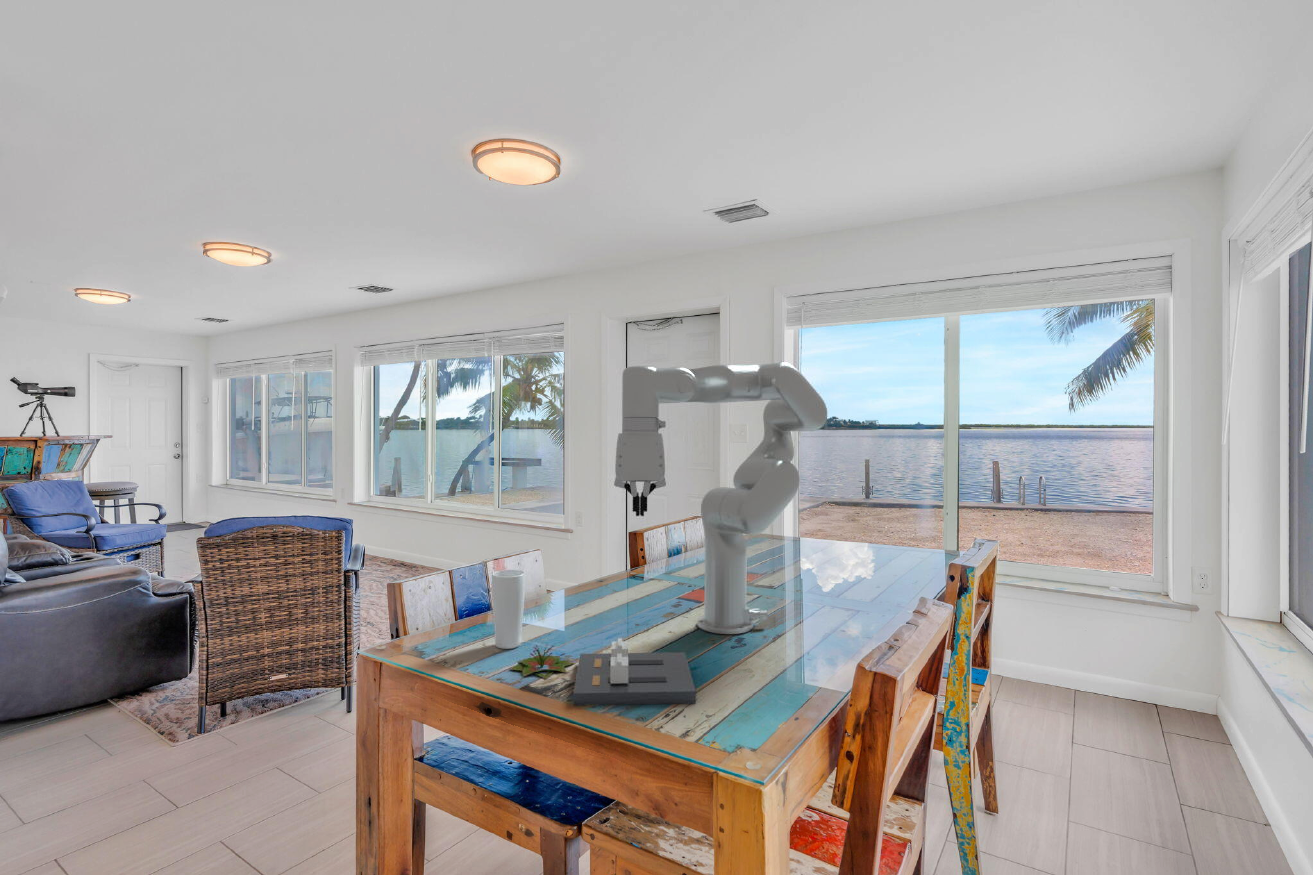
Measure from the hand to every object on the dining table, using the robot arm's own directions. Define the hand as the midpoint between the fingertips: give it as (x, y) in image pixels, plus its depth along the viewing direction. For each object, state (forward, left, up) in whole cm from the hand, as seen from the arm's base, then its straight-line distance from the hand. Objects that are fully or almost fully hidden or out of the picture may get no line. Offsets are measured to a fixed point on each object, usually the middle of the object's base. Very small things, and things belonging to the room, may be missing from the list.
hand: (639, 515), depth 131 cm
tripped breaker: (+4, +23, -25) cm, 34 cm away
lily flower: (+19, +11, -28) cm, 35 cm away
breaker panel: (+2, +19, -27) cm, 33 cm away
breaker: (+4, +15, -25) cm, 29 cm away
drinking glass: (+27, -1, -27) cm, 38 cm away
